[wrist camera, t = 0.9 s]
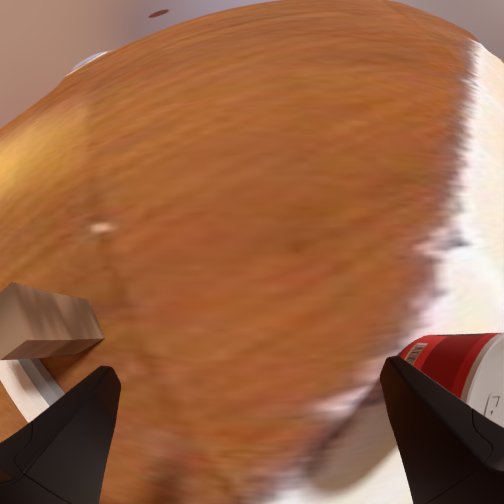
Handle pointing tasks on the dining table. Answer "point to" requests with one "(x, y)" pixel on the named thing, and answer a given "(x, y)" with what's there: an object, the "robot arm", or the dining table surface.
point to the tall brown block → (44, 324)
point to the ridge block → (29, 386)
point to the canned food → (464, 368)
